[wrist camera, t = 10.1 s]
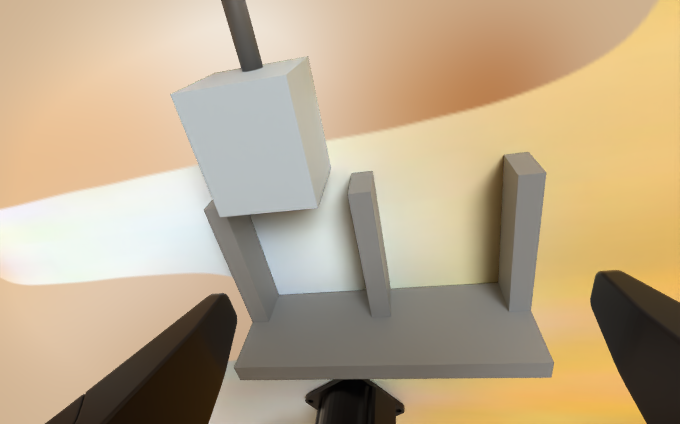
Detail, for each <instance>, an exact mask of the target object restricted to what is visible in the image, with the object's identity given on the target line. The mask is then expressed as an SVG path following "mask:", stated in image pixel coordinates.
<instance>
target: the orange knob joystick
mask: <svg viewBox="0 0 680 424" xmlns="http://www.w3.org/2000/svg"><path fill="white" fill-rule="evenodd" d="M221 1H222V5H223V8H224V11H225V15H226V18H227V21H228V25H229V28H230V32H231V35H232V38H233V42H234V45H235V49H236V52H237V55H238V58H239V62H240V65H241V68H240V69H234V70H229V71H223V72H217V73H214V74H212V75H210V76H207V77H206V78H204V79H201V80H199V81H197V82H195V83H193V84H191V85H189V86H187V87H184V88H182V89H180V90H178V91H176V92H174V93H172V94H170V95H171V98H172V100H173V102H174V105H175V107H176V110H177V112H178V115H179V117H180V120H181V122H182V124H183V127H184V129H185V132H186V134H187V137H188V139H189V142H190V144H191V147H192V149H193V152H194V154H195V157H196V159H197V162H198V164H199V167H200V169H201V172H202V174H203V176H204V179H205V181H206V184H207V186H208V189H209V191H210V194H211V196H212V199H213V201H214V204H215V206H216V209H217V211H218V213H219V216H220V217H228V216H238V215H249V214H260V213H270V212H281V211H292V210H302V209H313V208H318V206H319V203H320V200H321V197H322V194H323V191H324V188H325V184H326V181H327V178H328V175H329V172H330V169H331V165H330V161H329V156H328V151H327V146H326V141H325V136H324V132H323V127H322V123H321V117H320V112H319V107H318V102H317V97H316V92H315V88H314V83H313V77H312V73H311V68H310V63H309V58H308V56H307V57H302V58H296V59H290V60H285V61H279V62H274V63H268V64H262V61H261V57H260V54H259V50H258V46H257V43H256V39H255V35H254V31H253V27H252V24H251V20H250V17H249V12H248V9H247V5H246V2H245V0H221Z"/></svg>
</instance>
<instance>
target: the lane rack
mask: <svg viewBox="0 0 680 424" xmlns="http://www.w3.org/2000/svg"><path fill="white" fill-rule="evenodd" d="M545 179H546V172H545V170H544V169H543V168H542V167H541V166H540V165H539V163H538V162H537V161H536V160H535V159H534V158H533V157H532V155H531V154H530V153H529V152H525V153H516V154H508V155H504V168H503V190H502V211H501V233H500V255H499V277H498V283H484V284H466V285H449V286H431V287H413V288H396V289H391V287H390V281H389V274H388V268H387V261H386V255H385V248H384V242H383V235H382V229H381V222H380V216H379V209H378V203H377V196H376V190H375V183H374V177H373V171H368V172H360V173H352V175H351V180H350V185H349V190H348V199H349V204H350V209H351V214H352V219H353V224H354V229H355V234H356V239H357V244H358V249H359V254H360V259H361V264H362V269H363V274H364V279H365V285H366V290H360V291H343V292H325V293H308V294H290V295H279V294H278V291H277V289H276V286H275V283H274V280H273V278H272V275H271V272H270V270H269V267H268V264H267V261H266V259H265V256H264V253H263V250H262V248H261V245H260V242H259V240H258V237H257V234H256V231H255V229H254V226H253V223H252V220H251V218H250V215H238V216H228V217H220V216H219V213H218V211H217V209H216V206H215V204H214V201H213V200H212V201H211V202H210V203H209V205H208V206H207V207H206V208H205V209H204V212H205V214H206V217H207V219H208V221H209V223H210V226H211V228H212V230H213V233H214V235H215V237H216V239H217V242H218V244H219V246H220V249H221V251H222V253H223V255H224V258H225V260H226V262H227V264H228V267H229V269H230V271H231V274H232V276H233V278H234V280H235V283H236V285H237V287H238V290H239V292H240V294H241V296H242V299H243V301H244V303H245V306H246V308H247V310H248V312H249V315H250V317H251V319H252V322H253V323H252V325H251V328H250V330H249V333H248V335H247V338H246V340H245V342H244V345H243V348H242V350H241V352H240V355H239V357H238V359H237V362H236V364H235V367H234V369H235V370H236V372H237V374H238V376H239V378H240V380H305V379H427V378H550V377H552V371H553V365H554V362H553V360H552V357H551V355H550V353H549V350H548V348H547V346H546V344H545V341H544V339H543V337H542V335H541V332H540V330H539V328H538V326H537V323H536V321H535V319H534V317H533V314H532V312H531V305H532V296H533V287H534V278H535V269H536V260H537V251H538V242H539V233H540V224H541V215H542V206H543V197H544V188H545Z"/></svg>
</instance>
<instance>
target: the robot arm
mask: <svg viewBox="0 0 680 424" xmlns="http://www.w3.org/2000/svg"><path fill="white" fill-rule="evenodd" d="M590 302H591V307H592V310H593V312H594V315H595V317H596V319H597V322H598V324H599V327H600V329H601V331H602V334H603V336H604V339H605V341H606V343H607V346H608V348H609V351H610V353H611V355H612V358H613V360H614V363H615V365H616V367H617V369H618V372H619V374H620V376H621V377H622V379H623V381H624V383H625V385H626V387H627V389H628V391H629V392H630V394H631V396H632V398H633V400H634V401H635V403H636V405H637V407H638V409H639V410H640V412H641V414H642V416H643V418H644V419H645V421H646V423H647V424H680V302H678V301H676V300H674V299H672V298H670V297H669V296H667V295H665V294H663V293H661V292H659V291H657V290H656V289H654V288H652V287H650V286H648V285H646V284H644V283H643V282H641V281H639V280H637V279H635V278H633V277H632V276H630V275H628V274H626V273H624V272H622V271H619V270H609V271H600V272H598V273H597V274H596V276H595V280H594V284H593V289H592V293H591V298H590ZM236 325H237V315H236V312H235V310H234V308H233V306H232V304H231V301H230V300H229V297H228V296H227V295H226V294H224V293H221V294H211V295H209V296H208V297H207V298H205V299H204V300H203V301H201V302H200V303H199V304H198V305H196V306H195V307H194V308H193V309H191V310H190V311H189V312H187V313H186V314H185V315H184V316H182V317H181V318H180V319H179V320H177V321H176V322H175V323H173V324H172V325H171V326H170V327H168V328H167V329H166V330H164V331H163V332H162V333H161V334H159V335H158V336H157V337H156V338H154V339H153V340H152V341H151V342H149V343H148V344H147V345H145V346H144V347H143V348H141V349H140V350H139V351H138V352H136V354H134V355H133V356H131V357H130V358H129V359H127V360H126V361H125V362H124V363H122V364H121V365H120V366H119V367H117V368H116V369H115V370H113V371H112V372H111V373H110V374H108V375H107V376H106V377H104V378H103V379H102V380H101V381H99V382H98V383H97V384H96V385H94V386H93V387H92V388H91V389H89V390H88V391H87V392H86V394H83V395H82V396H80V397H79V398H78V399H76V400H75V401H74V402H73V403H71V404H70V405H69V406H67V407H66V408H65V409H64V410H62V411H61V412H60V413H58V414H57V415H56V416H54V417H53V418H52V419H51V420H49V421H48V422H47V423H45V424H208V423H209V420H210V417H211V414H212V411H213V408H214V406H215V403H216V400H217V397H218V394H219V391H220V388H221V385H222V382H223V379H224V375H225V372H226V368H227V364H228V359H229V355H230V350H231V346H232V342H233V338H234V333H235V329H236ZM305 401H306V403H308V404H309V405H311V406H312V407H314V408H315V409H317V410H318V411H317V417H316V422H315V424H396V416H398V415H400V414H402V413H404V405H403V404H402V403H400V402H399V401H398V400H396V399H395V398H394V397H392V396H391V395H389V394H388V393H387V392H385V391H384V390H383V389H381V388H380V387H378V386H377V385H376V384H374V383H373V382H372V381H370V380H369V379H336V380H334V381H332V382H330V383H328V384H326V385H324V386H322V387H321V388H319V389H317V390H315V391H313V392H311V393H309V394H307V395H306V400H305Z"/></svg>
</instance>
